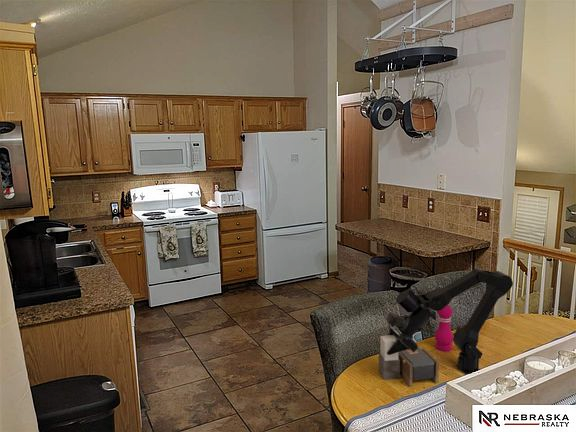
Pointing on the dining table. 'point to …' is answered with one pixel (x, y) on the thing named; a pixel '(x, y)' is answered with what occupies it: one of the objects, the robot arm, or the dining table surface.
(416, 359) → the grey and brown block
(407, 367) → the frame
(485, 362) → the dining table surface
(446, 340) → the pepper mill
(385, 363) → the stand
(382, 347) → the off-white block
